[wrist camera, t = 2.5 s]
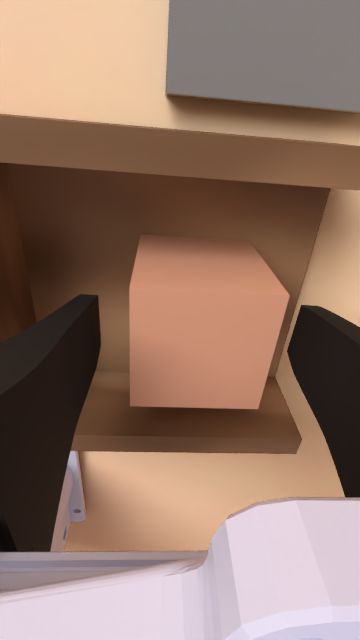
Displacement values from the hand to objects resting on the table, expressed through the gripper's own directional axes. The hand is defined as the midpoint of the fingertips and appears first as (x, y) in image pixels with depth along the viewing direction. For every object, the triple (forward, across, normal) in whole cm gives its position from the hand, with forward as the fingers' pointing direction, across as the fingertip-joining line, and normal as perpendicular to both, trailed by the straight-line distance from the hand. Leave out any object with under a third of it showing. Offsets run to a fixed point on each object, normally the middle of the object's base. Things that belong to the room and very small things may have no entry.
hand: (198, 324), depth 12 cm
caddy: (+4, +1, 0) cm, 4 cm away
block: (+3, 0, 0) cm, 3 cm away
